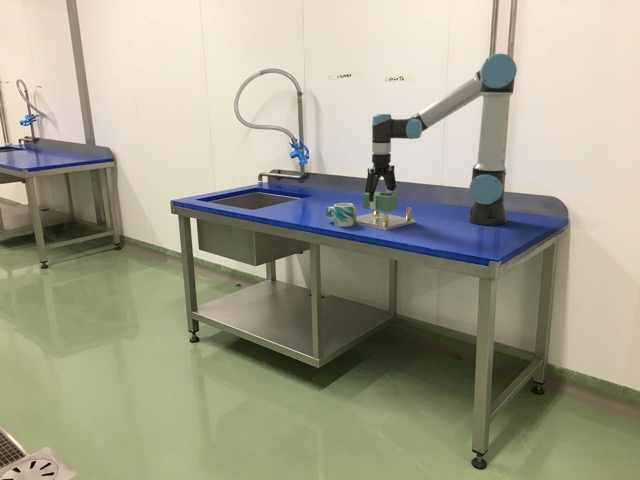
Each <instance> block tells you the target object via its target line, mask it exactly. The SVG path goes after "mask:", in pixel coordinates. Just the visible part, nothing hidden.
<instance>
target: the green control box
mask: <svg viewBox="0 0 640 480" xmlns="http://www.w3.org/2000/svg"><path fill="white" fill-rule="evenodd" d="M374 194H376V210H379V212H380V211H381V212H385V213H388V212H392V211H394V210H397V209H398V208H399V207H398V204H399V194H398V193H393V192H392V193H390V192H386V191H376V190H375V193H374ZM362 209H364V210H365V209H366V210H373V209H370V201H369V193H366V192H365V193H363V194H362ZM373 211H374V210H373Z"/></svg>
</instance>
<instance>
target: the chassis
mask: <svg viewBox="0 0 640 480" xmlns="http://www.w3.org/2000/svg"><path fill="white" fill-rule="evenodd" d="M405 210H406V211H405V216H406V217H404V216H398V215H394V214H389V213H388V212H384V213H383V212H380V211H379V210H374V212H370V213H366V214H361V215H358V216H357V206H353V224H357V225H362V226H366V227H369V228H374V229H377V230H383V231H389V230H392V229H393V230H394V229H397V228H400V227H405V226H407V225H410V224H415V223H416V219H414V218H412V207H406V209H405Z"/></svg>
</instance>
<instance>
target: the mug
mask: <svg viewBox="0 0 640 480" xmlns="http://www.w3.org/2000/svg"><path fill="white" fill-rule="evenodd" d="M333 205H334V206H326V209H325V211H326V219H327V220H331V221H332V220H333V221H334V226H336V227H342V228H344V227H345V228H346V227H351V226H354V225H355V223H353V207H354V204H353V203H350V202H339V203H338V202H337V203H334V204H333Z"/></svg>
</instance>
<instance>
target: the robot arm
mask: <svg viewBox="0 0 640 480" xmlns="http://www.w3.org/2000/svg"><path fill="white" fill-rule="evenodd" d="M517 69H518V68H517V64H516V62H515V61H514V59H513V58H512V57H511V56H510V55H508V54H506V53H500V52H499V53H494V54H491V55H489V56H488V57H487V58H486V59H485V60H484V61H483V62H482V64H481V66H480V70H478V71H477V72H476V73H475V75H474V77H472V78H471V79H469V80H468V81H466V82H464V83H462V84H461V85H459V86H458V87H457V88H455V89H453V90H452V91H450V92H448V93H447V94H446V95H444V96H443V97H441V98H439V99H437V100H436V101H434V102H432V104H430V105H428V106H427V107H425V108H424V109H422V110H420V111H419V112H417V113H416V114H414V115H412V116H411V117H409V118H401V119H397V118H392V115H391V113H376V114H374V115H372V122H371V123H372V125H371V127H372V129H371V130H372V131H371V135H372V137H371V140H372V141H371V142H372V143H371V148H372V149H371V151H372V154H371V163H372V164H373V166H372V167H371V168H370V167H368V168H367V178H366V182H365V189H364V192H365V193H369V201H370V209H369V210H372V209H373V211H375V210H376V194H374V193H375V191H376V189H377V187H378V183H379V181H380V179H381V177H383V181H384V183H385V186H386V190H385V192H390V193H393V191H395V190H396V188H397V181H396V177H395V168H396V167H395V165H392V164H390V163H391V162H392V161H391V157H392V156H391V155H392V154H391V152H392V139H404V140H406V139H409V140H413V139H415V140H416V139H420V138H421V137H422V133H423V132H424V131H426V130H428V129H429V128H432V126H434V125H435V124H437V123H438V122H440V121H442V120H444V119H445V118H447V117H449V116H450V115H452V114H454V113H455V112H457V111H458V110H460V109H462V108H463V107H465V106H466V105H468V104H470V103H472V102H473V101H475V100H477V99H478V98H479V97H481V96H482V97H483V101H482V108H481V109H482V113H481V122H480V131H479V140H478V141H479V144H478V153H477V162H476V164H474V165H472V173H471V181H470V183H469V187H468V189H469V194H470V196H471V198H472V199H473V204H472V207H471V209H470V211H469V213H468V221H469V222H470V223H473V224H477V225H484V226H497V225H498V226H499V225H504V224H506V223H507V222H508V215H507V211H506V207H505V203H504V201H505V188H506V186H505V185H506V175H507V170H506V166H504V165H502V159H503V150H504V139H505V131H506V122H507V121H506V119H507V111H508V101H509V98H510V97H511V96H512V95H513V94H514V87H515V78H516V76H517V72H518V71H517Z"/></svg>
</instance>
